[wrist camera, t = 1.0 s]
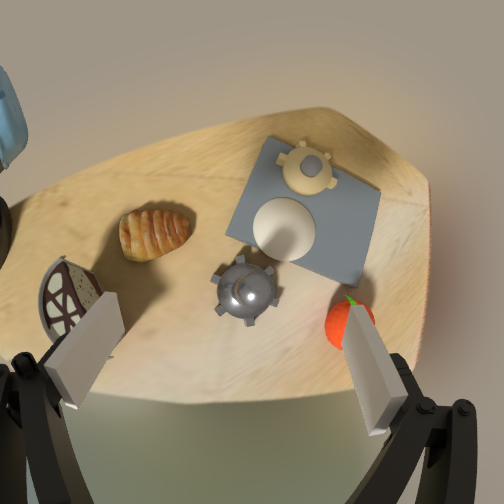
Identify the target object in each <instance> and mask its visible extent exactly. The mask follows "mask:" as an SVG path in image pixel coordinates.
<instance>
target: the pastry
mask: <svg viewBox="0 0 504 504" xmlns="http://www.w3.org/2000/svg"><path fill="white" fill-rule="evenodd" d="M119 227H120V229H119V233H120V241H121V244H122V245H121V247H122V250H123V254H124V256H125V258H126V259H127V260H129V261H137V262H146V261H148V260H152V259H156V258H159V257H161V256H163V255H165V254H167V253H169V252H171V251H173V250H175V249H177V248H179V247H180V246H182V245H183V244H184V243H185V242H186V241H187V239H188V238H189V237H190V226H189V220H188V219H187V218H186V217H185V216H183V215H182V214H181V213H175V212H172V211H170V210H168V211H167V210H154V209H148V210H145V211H141V212H140V211H138V210H134V211H133V212H132V213H130V214H128V215H124V216H123V217H122V218H121V220H120V225H119Z"/></svg>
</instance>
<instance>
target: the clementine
mask: <svg viewBox="0 0 504 504" xmlns="http://www.w3.org/2000/svg"><path fill="white" fill-rule="evenodd" d="M344 295H345V294H344ZM345 296H346V297H347V298H348V300H347V301H343V302H340V303H338V304H337V305H335V306H334V307H333V308H332V309H331V310H330V312H329V313H328V315H327V317H326V321H325V332H326V336H327V338H328V340H329V341H330V342H331V344H332V345H334V346H335V347H337V348H338V349H340V350H343V348H342V345H341V342H342V338H343V335H344V331H345V327H346V323H347V319H348V314H349V310H350V306H351V305H364V307H365V308H366V310H367V312H368V314H369V316H370V318H371V320H372V322H373V324H374V325H375V320H374V316H373V314H372V312H371V310H370V309H369V308H368V307H367V306H366V305H365V304H363V303H361V302H359V301H355V300H353V299H352V298H350V297H349V296H347V295H345Z"/></svg>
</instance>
